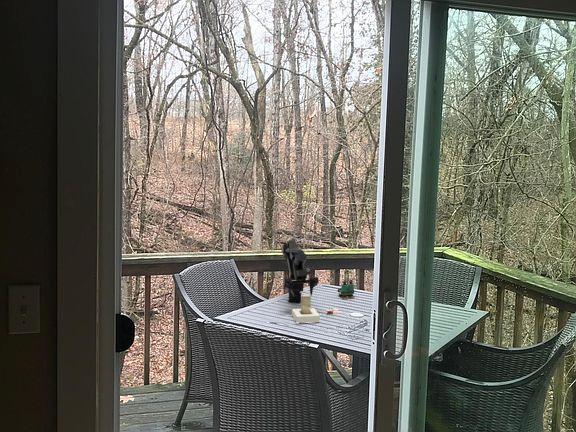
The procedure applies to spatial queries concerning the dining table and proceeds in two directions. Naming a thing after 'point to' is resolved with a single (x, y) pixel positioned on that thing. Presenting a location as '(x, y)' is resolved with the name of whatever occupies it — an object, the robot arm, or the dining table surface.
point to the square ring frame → (305, 315)
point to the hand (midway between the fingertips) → (302, 296)
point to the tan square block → (305, 304)
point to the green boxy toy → (347, 290)
